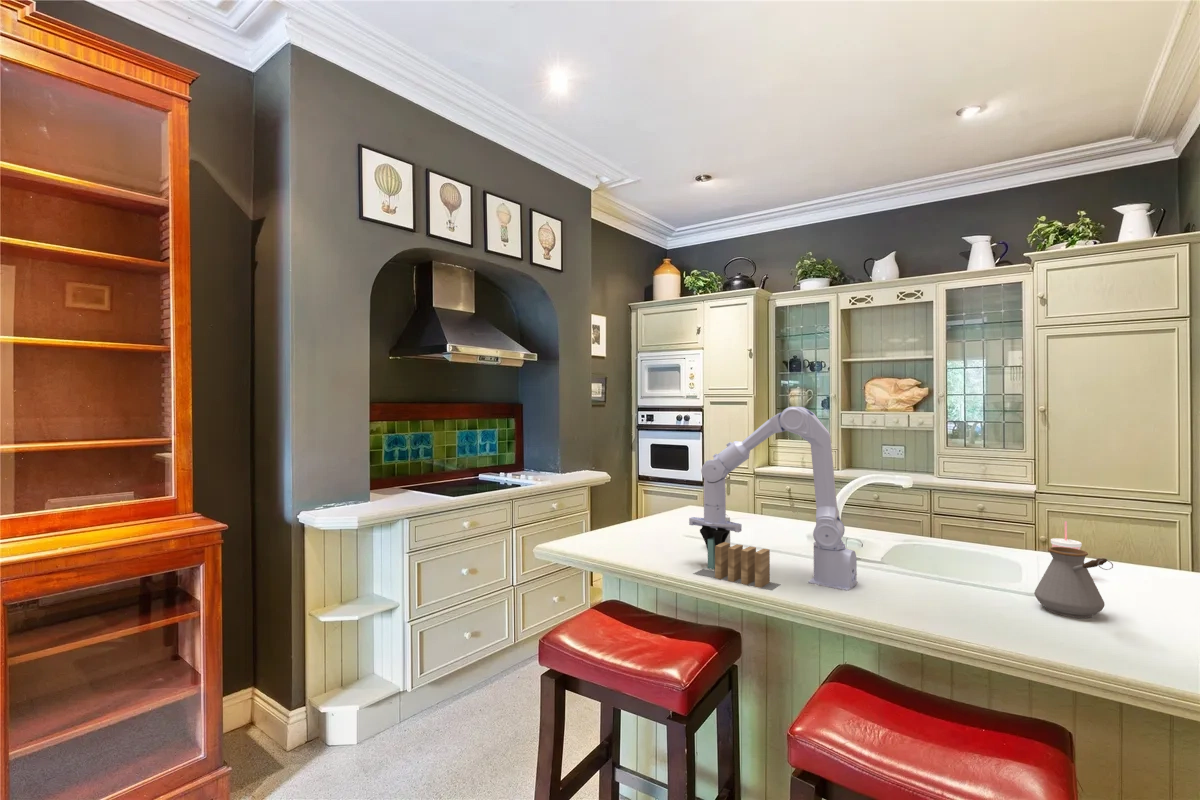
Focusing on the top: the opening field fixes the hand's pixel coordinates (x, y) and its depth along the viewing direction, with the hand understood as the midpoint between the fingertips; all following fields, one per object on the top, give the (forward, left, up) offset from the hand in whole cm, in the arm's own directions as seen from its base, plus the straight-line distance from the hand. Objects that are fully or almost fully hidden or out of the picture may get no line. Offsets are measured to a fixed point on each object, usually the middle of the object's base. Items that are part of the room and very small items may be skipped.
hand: (714, 555), depth 153 cm
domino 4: (-16, +6, -3) cm, 18 cm away
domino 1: (-6, +6, -3) cm, 9 cm away
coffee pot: (-75, -13, -4) cm, 76 cm away
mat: (-9, +6, -3) cm, 12 cm away
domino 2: (-9, +6, -3) cm, 12 cm away
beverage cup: (-73, -48, -4) cm, 87 cm away
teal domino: (0, 0, -3) cm, 3 cm away
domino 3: (-13, +6, -3) cm, 14 cm away
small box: (+8, -18, -4) cm, 20 cm away
